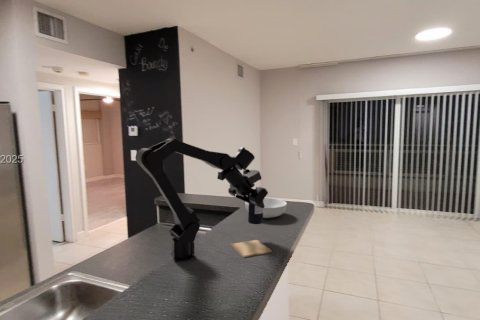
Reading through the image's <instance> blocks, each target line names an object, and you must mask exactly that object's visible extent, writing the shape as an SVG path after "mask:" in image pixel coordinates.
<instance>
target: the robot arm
mask: <svg viewBox="0 0 480 320" xmlns="http://www.w3.org/2000/svg"><path fill="white" fill-rule="evenodd" d="M173 153H177V154H180V155H182V156H183V155H184V156H186V157H188V158H193V159H196V160H198V161H202V162H203V163H205V164H206V165H208V166H210V167H211V168H214V169H218V170H221V171H217V180H220V181H222V182H223V181H224V180H226V181H227V183H229V188H228V189H227V190H228V193H229V195H231V197H235V198H236V199H239V200H241V201H243V202H244V203H245V202H248V203H249V200H250V203H252V204H254V205H256V206H258V207H261V208H264V207H265V206H264V203H263V199H264V198H267V196H268V194H269V192H268V190H267V189H266V188H264V187H261V186H256V185H255V183H257V182H258V181H261V180H262V175H261V172H260V171H259V170H257V169H249V166H250V165H251V163H252V162H253V161H254V160H255V155H254V154H253V152H251V151H249V150H248V149H246V147H244V146H241V147H239V148H238V150H237V151H236V152H235V154H233V156H231V155H230V154H228V153H226V152H218V151H210V150H208V149H207V150H206V149H205V148H204V149H203V148H201V147H197V146H195V145H192V144H189V143H187V142H183V141H180V140H179V139H176V138H167V139H165V140H164V141H161V142H159V143H156V144H154V145H152V146H149V147H148V148H147V147H143V148H142V147H141V148H140V149H139V150H138V151H137V152H136V155H135V161H136V162H137V163H136V164H138V165H139V166H140V168H142V170H143V171H144V172H145V173H146V174H148V175H149V177H150V178H151V179H152V180H153V181H152V182H154V184H155V185H156V187H157V189H158V190H159V193H160V194H161V195H162V197H163V198H164V201H166V204H167V205H168V206H169V208H170V210H171V212H172V215H173V220H174V223H175V224H174V225H173V226H172V227H171V228H170V230H169V233H170V236H171V237H172V238H171V250H172V252H171V253H170V255H171V257H172V259H173V261H174V262H178V263H179V262H182V261H183V262H184V261H189V260H193V259H195V240H196V236H197V234H198V232H199V230H200V228H201V224H200V222H201V220H200V218H198V216H197V213H196V211H195V210H193V209H192V208H190V207H188V206H187V207H186V206H185V204H184V203H183V201H182V200H181V198H180V196H179V194H178V193H177V190H176V189H175V186H173V184H172V182H171V180H170V179H169V177H168V176H167V174H166V171H165V166H164V162H163V160H166V159H167V158H168V157H170V156H171V155H172V154H173ZM242 170H243V172H241V171H242ZM255 186H256V187H255ZM254 187H255V189H254Z"/></svg>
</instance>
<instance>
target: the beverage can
mask: <svg viewBox="0 0 480 320" xmlns="http://www.w3.org/2000/svg"><path fill="white" fill-rule="evenodd" d="M263 203H264V199H263ZM247 212H248V214H247V218H248V219H247V222H248V224H249V225H250V226H253V227H255V226H256V227H257V226H261V225H262V224H263V222H264V218H263V208H261V207H258V206H256V205H254V204H252V203H250V200H249V211H247Z"/></svg>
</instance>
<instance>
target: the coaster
mask: <svg viewBox="0 0 480 320" xmlns="http://www.w3.org/2000/svg"><path fill="white" fill-rule="evenodd" d="M230 247H231V248H233V250H235V251H236V252H237V253H238V254H239V255H240V256H241V257H242V258H247V257H252V256H258V255H264V254H269V253H272V252H273V251H272V249H271V248H269V247H268V246H266V245H265V244H264V243H262V242H261V241H260V240H258V239H252V240H247V241H241V242H235V243H230Z"/></svg>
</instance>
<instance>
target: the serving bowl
mask: <svg viewBox="0 0 480 320" xmlns="http://www.w3.org/2000/svg"><path fill="white" fill-rule="evenodd" d="M244 204H245V205H244V207H245V209H246V211H247V212H248V211H249V203H248V202H245V201H244ZM287 205H288V203H287V201H285V200H283V199H278V198H272V197H271V198H270V197H265V198H264V206H265V207H264V208H263V219H272V218H276V217H279V216H281V215H283V214H284V213H285V212H286V210H287V207H288V206H287Z"/></svg>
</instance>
